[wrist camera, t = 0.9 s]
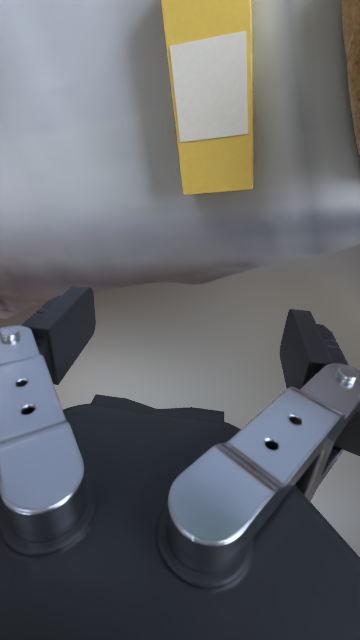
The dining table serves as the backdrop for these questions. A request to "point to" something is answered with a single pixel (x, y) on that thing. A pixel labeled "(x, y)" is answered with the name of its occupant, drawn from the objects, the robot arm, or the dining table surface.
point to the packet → (212, 92)
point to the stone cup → (353, 58)
